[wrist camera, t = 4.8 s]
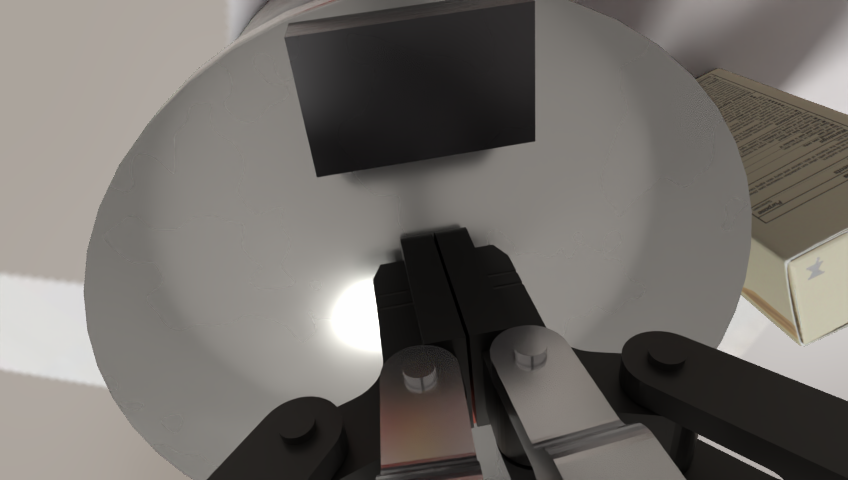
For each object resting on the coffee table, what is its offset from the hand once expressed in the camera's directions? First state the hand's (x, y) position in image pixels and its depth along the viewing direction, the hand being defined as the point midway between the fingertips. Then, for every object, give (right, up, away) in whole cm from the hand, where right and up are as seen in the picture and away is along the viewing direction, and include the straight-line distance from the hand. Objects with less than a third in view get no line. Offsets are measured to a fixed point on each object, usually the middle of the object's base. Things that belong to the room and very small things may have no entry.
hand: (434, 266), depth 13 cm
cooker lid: (0, -1, +3) cm, 3 cm away
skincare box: (+12, +6, +15) cm, 20 cm away
